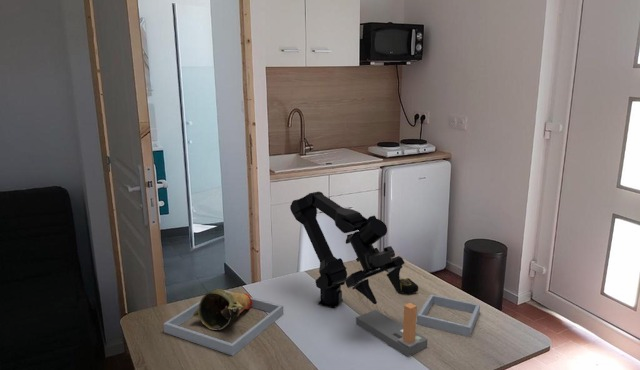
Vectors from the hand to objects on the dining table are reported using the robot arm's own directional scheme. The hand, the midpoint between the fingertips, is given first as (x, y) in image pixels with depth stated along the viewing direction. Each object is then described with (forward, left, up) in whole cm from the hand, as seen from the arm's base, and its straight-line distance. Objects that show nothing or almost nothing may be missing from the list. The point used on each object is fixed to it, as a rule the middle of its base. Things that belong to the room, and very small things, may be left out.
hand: (388, 298), depth 137 cm
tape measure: (-4, +32, -13) cm, 34 cm away
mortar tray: (-47, -16, -12) cm, 51 cm away
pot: (-48, -16, -12) cm, 52 cm away
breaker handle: (+8, -4, -9) cm, 13 cm away
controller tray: (+14, +19, -12) cm, 26 cm away
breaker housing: (+1, +1, -12) cm, 12 cm away
